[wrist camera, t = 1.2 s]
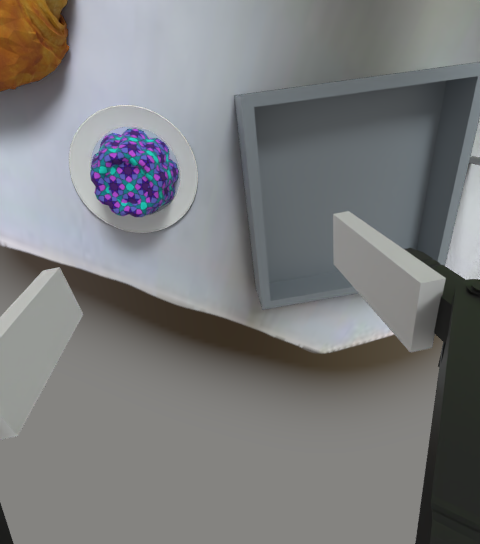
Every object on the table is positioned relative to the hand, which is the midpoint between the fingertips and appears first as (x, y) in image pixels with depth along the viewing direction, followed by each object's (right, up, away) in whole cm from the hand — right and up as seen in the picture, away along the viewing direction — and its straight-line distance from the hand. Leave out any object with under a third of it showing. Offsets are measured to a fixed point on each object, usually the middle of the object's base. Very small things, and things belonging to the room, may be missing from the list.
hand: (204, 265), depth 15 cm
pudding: (-8, +10, +16) cm, 20 cm away
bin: (+13, +8, +19) cm, 24 cm away
